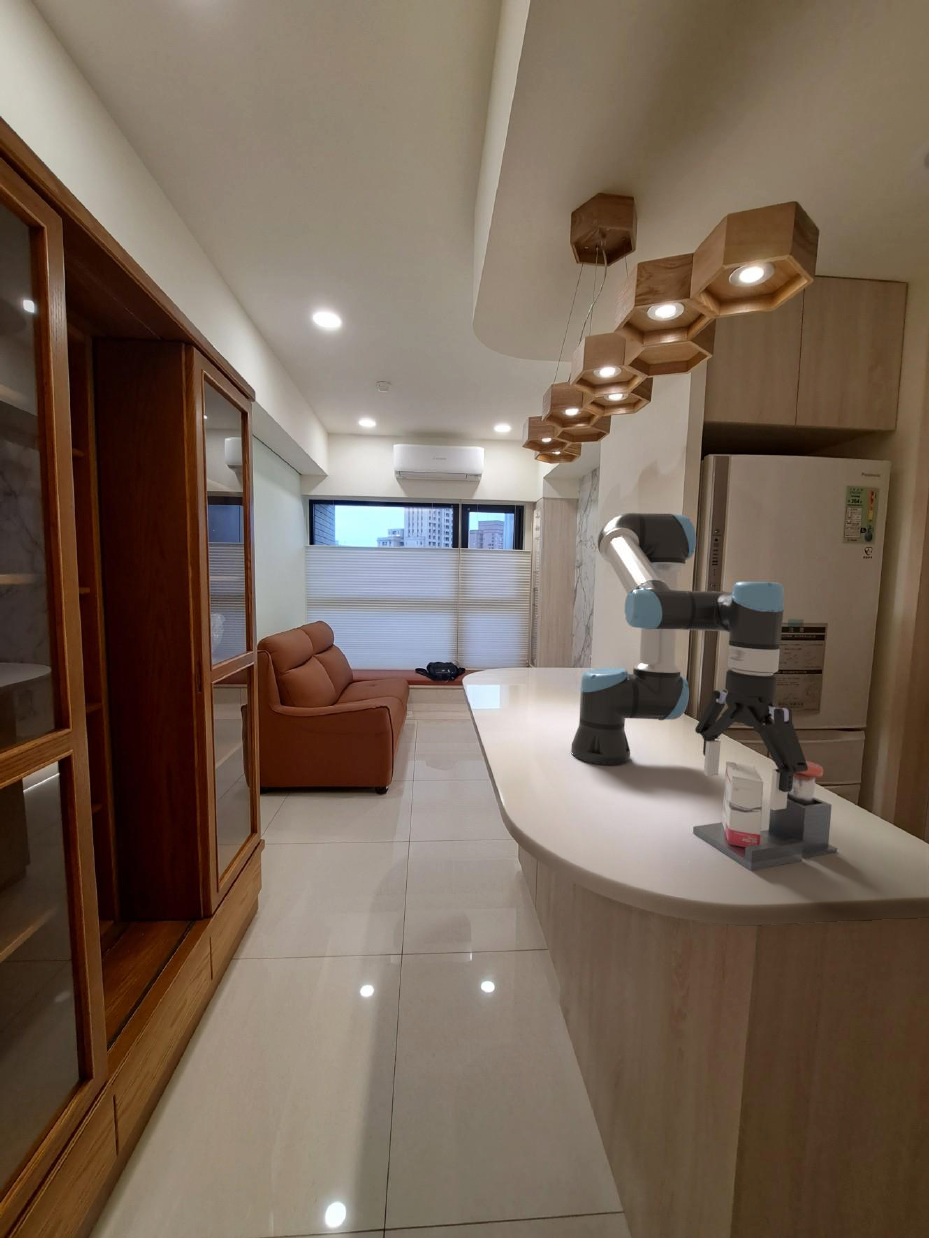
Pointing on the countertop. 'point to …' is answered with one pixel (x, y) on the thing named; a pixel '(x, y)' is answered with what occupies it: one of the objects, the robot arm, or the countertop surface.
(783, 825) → the housing
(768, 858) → the tray
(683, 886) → the countertop surface
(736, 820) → the ink box
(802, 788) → the plunger
